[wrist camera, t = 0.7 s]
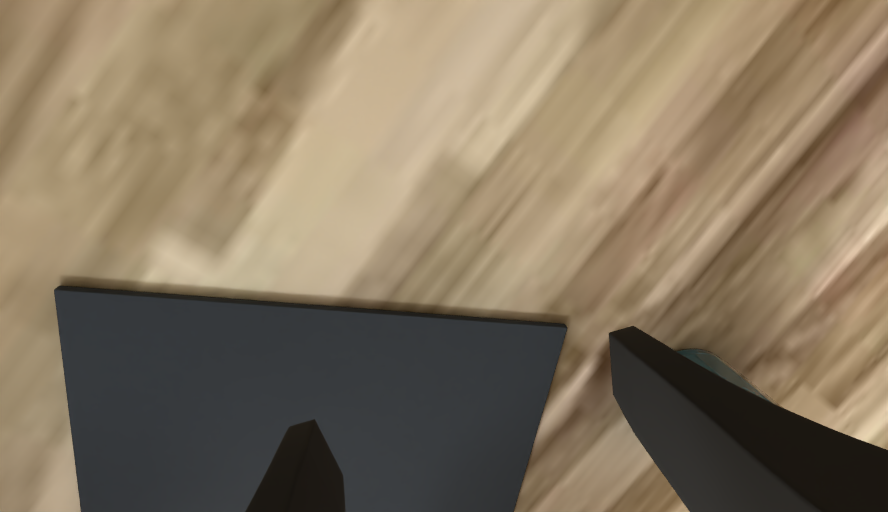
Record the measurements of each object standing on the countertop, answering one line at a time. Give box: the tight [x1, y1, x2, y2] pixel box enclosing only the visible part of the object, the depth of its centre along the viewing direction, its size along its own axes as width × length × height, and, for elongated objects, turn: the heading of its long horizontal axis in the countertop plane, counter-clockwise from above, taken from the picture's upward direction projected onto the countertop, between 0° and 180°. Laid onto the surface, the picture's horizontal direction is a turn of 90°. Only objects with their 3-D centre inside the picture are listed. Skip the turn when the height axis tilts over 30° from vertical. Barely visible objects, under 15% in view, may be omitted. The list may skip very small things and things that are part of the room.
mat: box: [54, 286, 567, 512], centre depth 24 cm, size 14×22×1 cm, turn 80°
